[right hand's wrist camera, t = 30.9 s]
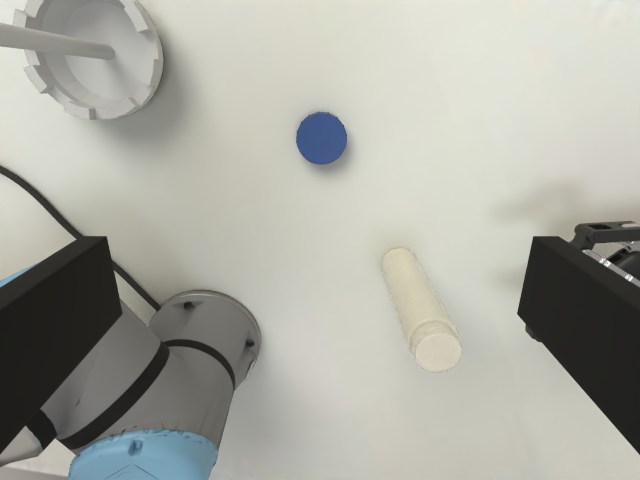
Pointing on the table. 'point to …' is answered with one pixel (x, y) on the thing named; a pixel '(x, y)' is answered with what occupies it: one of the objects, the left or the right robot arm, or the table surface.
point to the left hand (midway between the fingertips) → (531, 297)
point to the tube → (420, 312)
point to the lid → (321, 138)
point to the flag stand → (89, 54)
